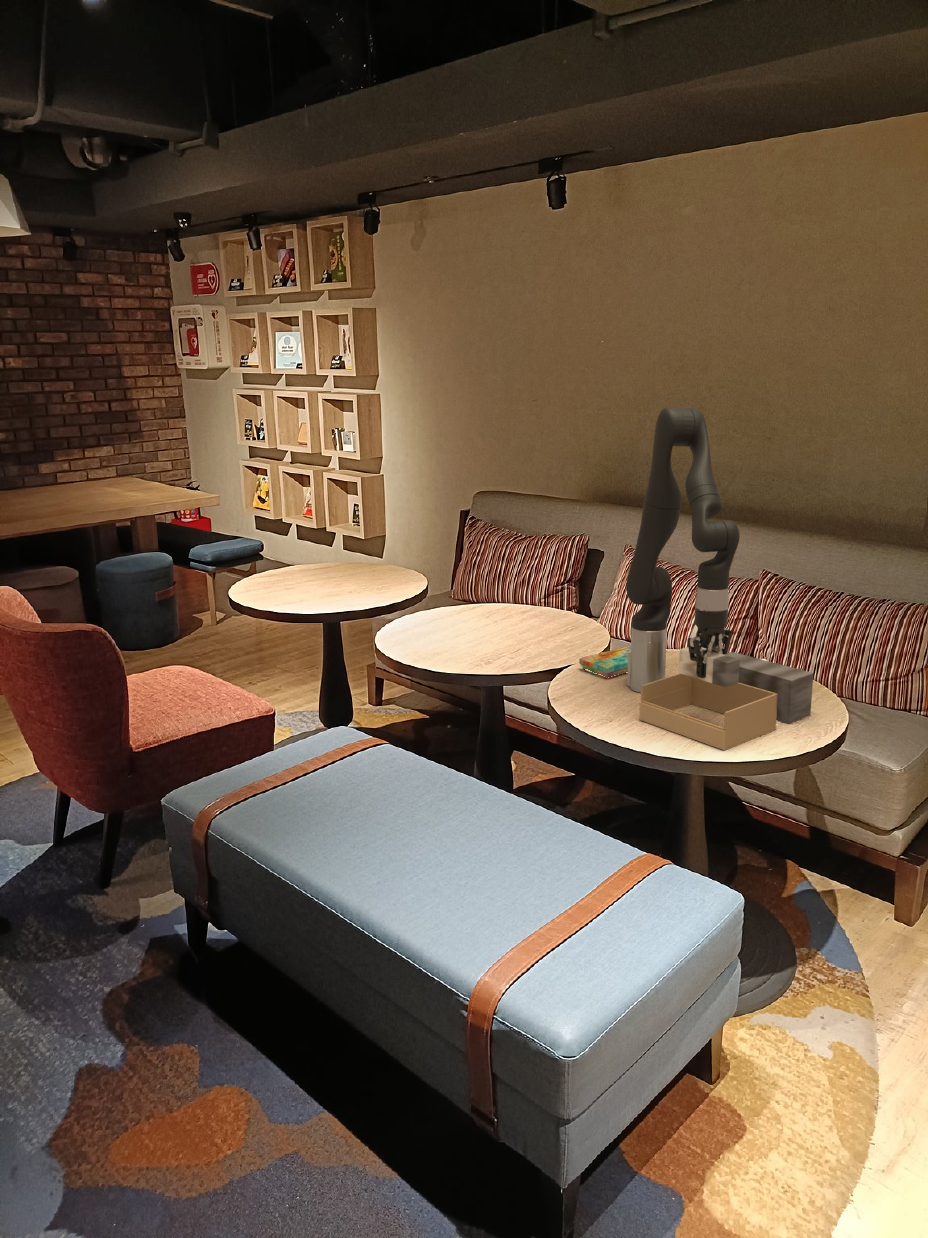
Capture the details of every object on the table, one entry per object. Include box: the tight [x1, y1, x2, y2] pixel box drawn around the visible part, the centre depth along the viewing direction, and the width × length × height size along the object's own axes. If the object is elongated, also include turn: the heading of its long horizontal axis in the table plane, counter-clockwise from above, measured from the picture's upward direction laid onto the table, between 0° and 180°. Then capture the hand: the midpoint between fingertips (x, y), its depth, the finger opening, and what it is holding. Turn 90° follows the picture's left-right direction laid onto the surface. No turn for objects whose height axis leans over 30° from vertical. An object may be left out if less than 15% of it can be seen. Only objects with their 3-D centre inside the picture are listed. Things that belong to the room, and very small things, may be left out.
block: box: [678, 646, 740, 688], centre depth 220 cm, size 14×4×6 cm, turn 37°
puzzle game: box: [578, 645, 631, 679], centre depth 267 cm, size 12×5×20 cm
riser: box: [724, 651, 814, 725], centre depth 233 cm, size 24×9×11 cm, turn 37°
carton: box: [639, 672, 778, 751], centre depth 222 cm, size 25×20×9 cm
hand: (708, 674), depth 220 cm, fingers closed on block, 4 cm apart
